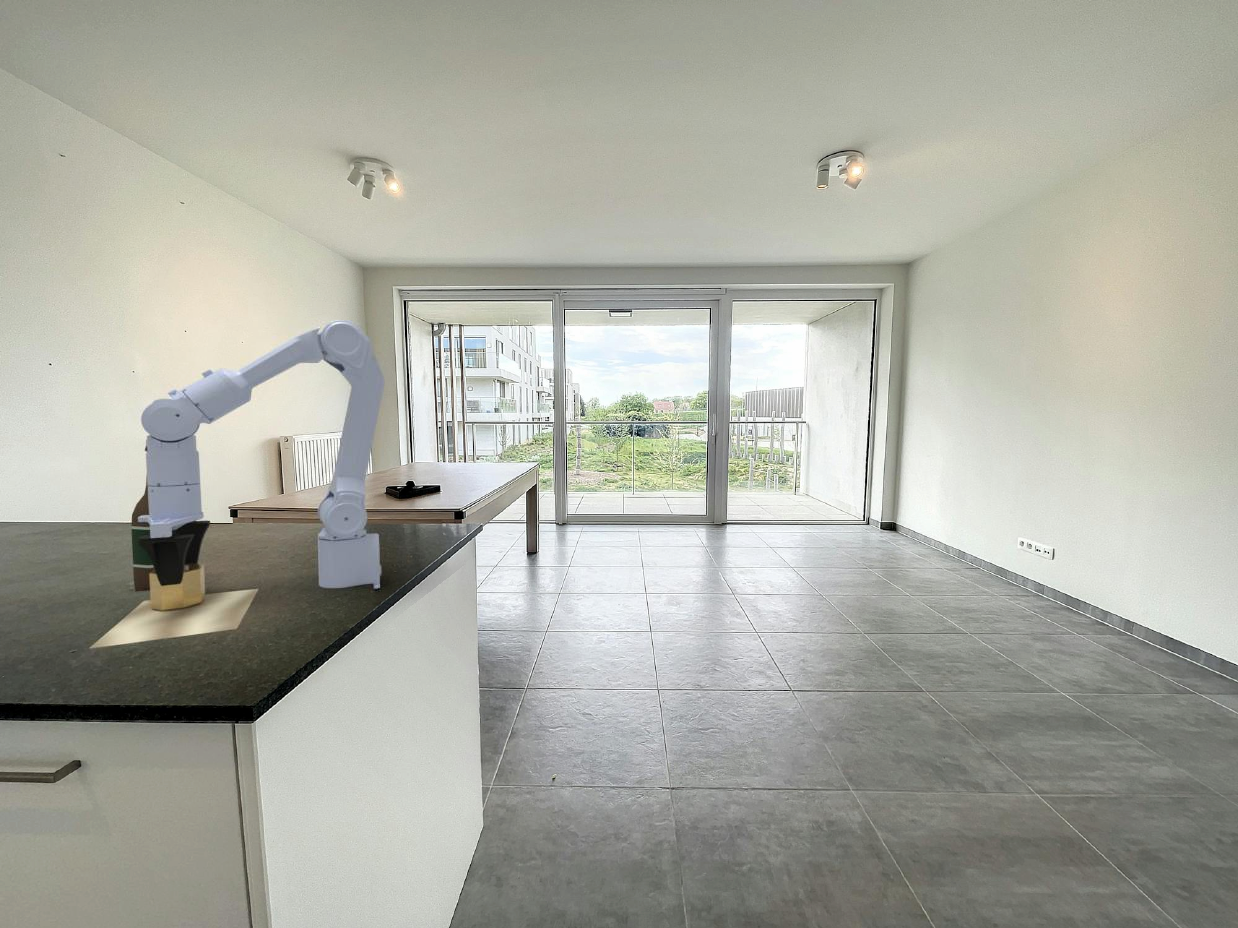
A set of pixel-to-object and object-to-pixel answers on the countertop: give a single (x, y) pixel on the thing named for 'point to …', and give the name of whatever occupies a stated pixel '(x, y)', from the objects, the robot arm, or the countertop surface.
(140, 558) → the beer bottle
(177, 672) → the countertop surface
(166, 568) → the robot arm
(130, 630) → the board
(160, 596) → the collar ring
